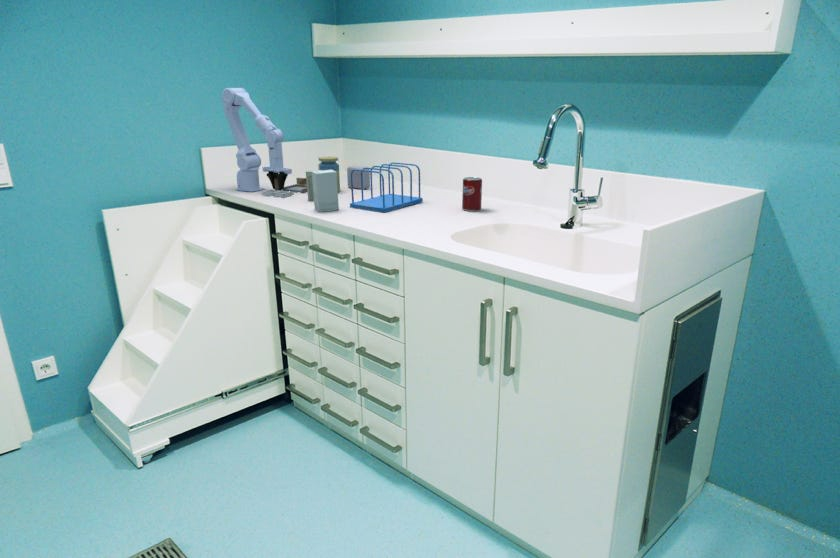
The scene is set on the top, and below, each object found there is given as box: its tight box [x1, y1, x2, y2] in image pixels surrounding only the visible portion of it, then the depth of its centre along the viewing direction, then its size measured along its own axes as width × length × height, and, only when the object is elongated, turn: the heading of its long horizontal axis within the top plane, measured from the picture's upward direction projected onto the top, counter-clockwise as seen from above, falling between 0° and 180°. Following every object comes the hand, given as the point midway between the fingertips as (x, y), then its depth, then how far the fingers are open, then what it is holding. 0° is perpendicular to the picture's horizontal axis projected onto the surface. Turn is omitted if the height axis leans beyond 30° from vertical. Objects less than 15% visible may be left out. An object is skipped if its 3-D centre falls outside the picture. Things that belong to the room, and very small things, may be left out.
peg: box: [274, 178, 283, 191], centre depth 257 cm, size 3×3×6 cm
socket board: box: [261, 189, 295, 199], centre depth 251 cm, size 12×7×2 cm, turn 63°
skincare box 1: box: [305, 169, 323, 202], centre depth 240 cm, size 6×4×12 cm
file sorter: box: [349, 162, 424, 213], centre depth 231 cm, size 25×17×15 cm
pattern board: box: [282, 183, 307, 194], centre depth 266 cm, size 11×19×2 cm, turn 153°
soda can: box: [461, 176, 483, 212], centre depth 223 cm, size 7×7×12 cm
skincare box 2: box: [312, 170, 340, 213], centre depth 221 cm, size 8×6×15 cm
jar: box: [317, 156, 341, 193], centre depth 257 cm, size 9×9×15 cm
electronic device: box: [346, 164, 371, 190], centre depth 267 cm, size 10×5×10 cm, turn 58°
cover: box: [295, 177, 307, 187], centre depth 269 cm, size 9×9×3 cm
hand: (278, 189), depth 258 cm, fingers closed on peg, 3 cm apart
